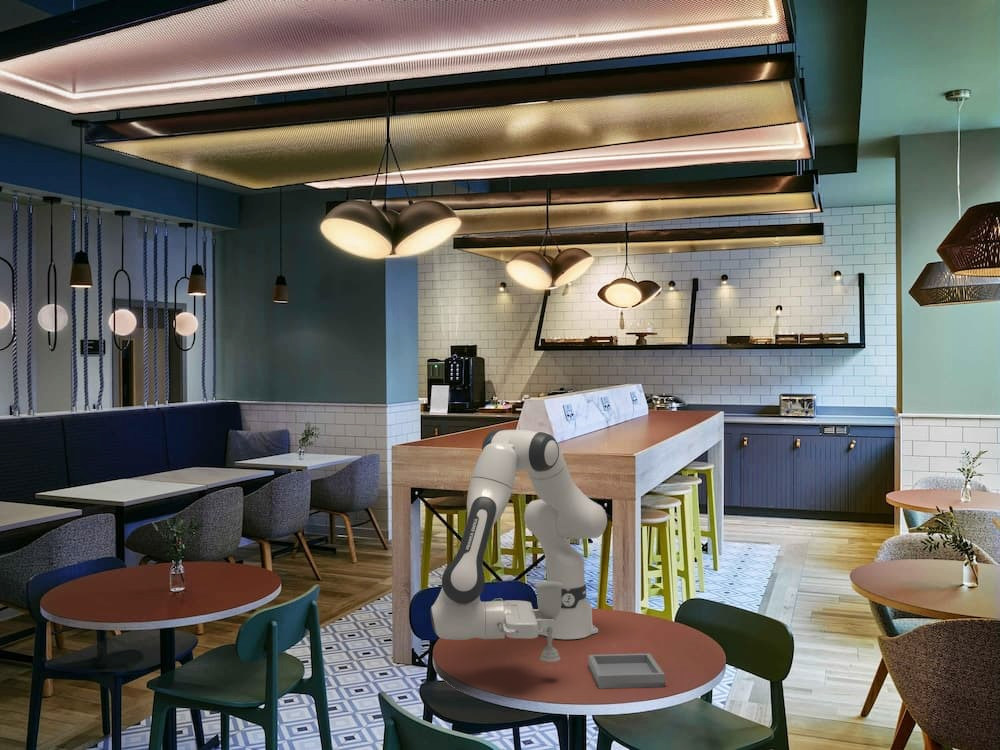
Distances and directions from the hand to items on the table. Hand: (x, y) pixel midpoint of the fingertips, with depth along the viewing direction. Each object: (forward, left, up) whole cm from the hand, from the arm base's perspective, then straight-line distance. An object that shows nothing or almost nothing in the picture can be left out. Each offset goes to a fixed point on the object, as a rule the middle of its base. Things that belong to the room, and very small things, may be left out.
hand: (553, 618), depth 207 cm
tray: (-2, +18, -15) cm, 24 cm away
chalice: (0, -1, -10) cm, 10 cm away
